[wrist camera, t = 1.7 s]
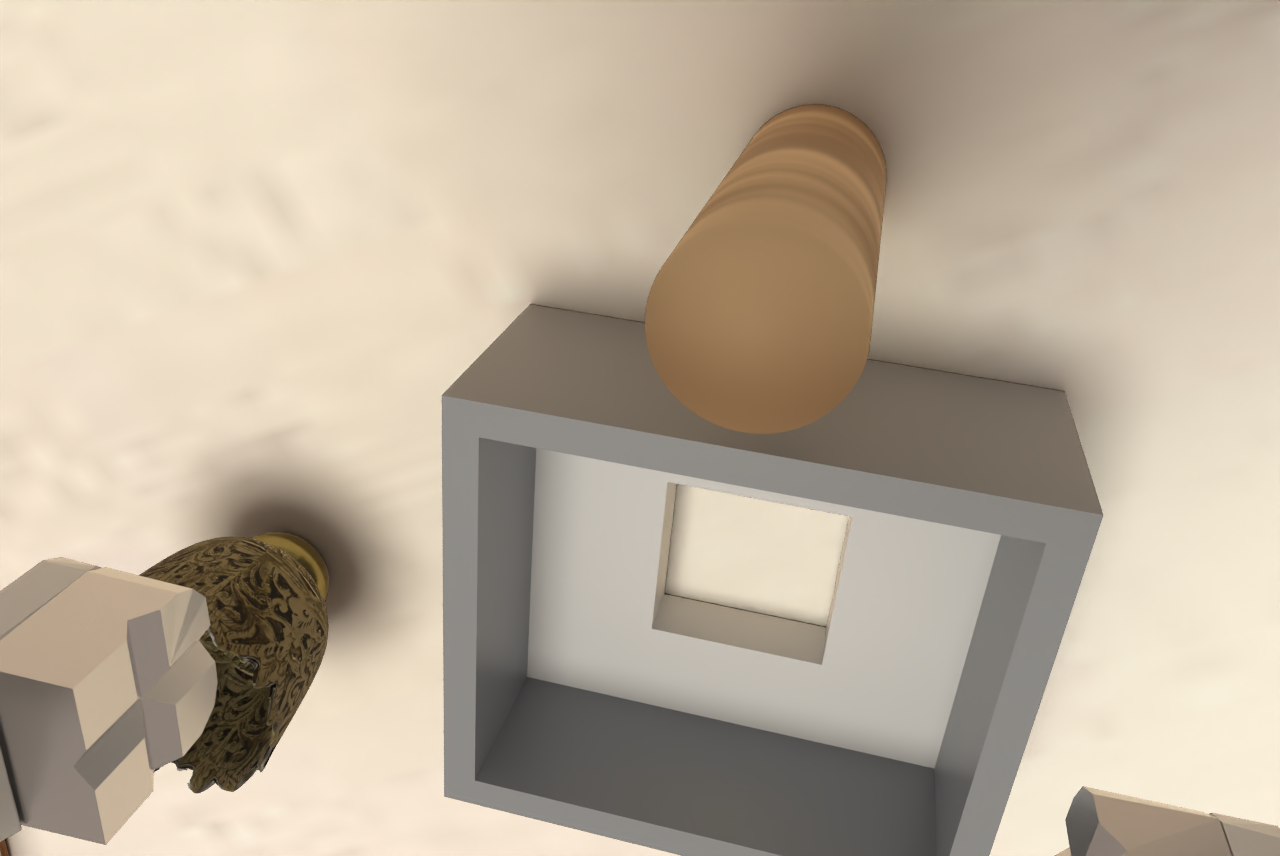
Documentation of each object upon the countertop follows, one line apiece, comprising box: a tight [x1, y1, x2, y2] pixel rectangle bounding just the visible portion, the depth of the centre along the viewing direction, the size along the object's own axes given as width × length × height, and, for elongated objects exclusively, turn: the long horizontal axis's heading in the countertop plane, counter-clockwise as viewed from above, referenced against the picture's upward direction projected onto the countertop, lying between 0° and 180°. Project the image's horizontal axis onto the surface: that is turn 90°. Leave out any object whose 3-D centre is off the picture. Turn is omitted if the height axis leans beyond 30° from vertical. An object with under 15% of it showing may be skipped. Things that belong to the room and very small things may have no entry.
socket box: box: [442, 304, 1103, 856], centre depth 31 cm, size 14×16×7 cm
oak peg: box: [645, 104, 887, 434], centre depth 24 cm, size 4×4×12 cm
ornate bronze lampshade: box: [139, 532, 329, 793], centre depth 36 cm, size 8×7×8 cm
